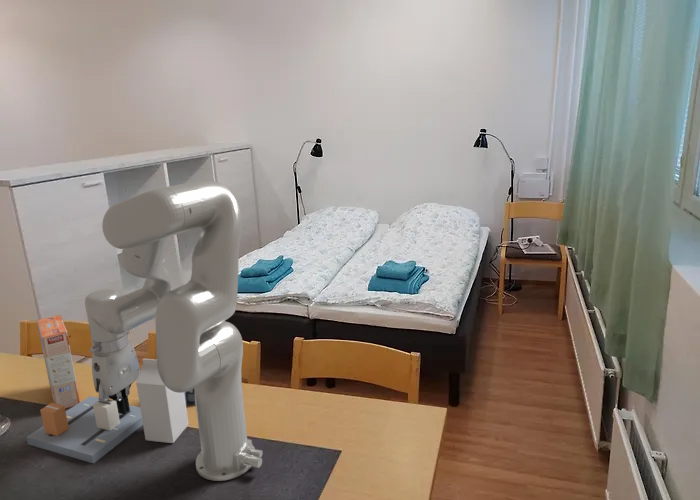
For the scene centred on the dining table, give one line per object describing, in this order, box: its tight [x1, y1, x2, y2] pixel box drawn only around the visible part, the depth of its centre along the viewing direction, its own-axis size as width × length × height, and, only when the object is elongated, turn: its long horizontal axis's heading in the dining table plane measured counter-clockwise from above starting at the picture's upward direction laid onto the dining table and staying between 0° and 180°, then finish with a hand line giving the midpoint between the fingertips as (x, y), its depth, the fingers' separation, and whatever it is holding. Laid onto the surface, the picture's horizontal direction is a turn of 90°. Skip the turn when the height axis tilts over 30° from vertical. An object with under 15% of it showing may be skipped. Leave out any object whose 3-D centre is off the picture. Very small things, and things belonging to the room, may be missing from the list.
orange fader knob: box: [39, 402, 69, 436], centre depth 119 cm, size 4×3×6 cm
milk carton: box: [135, 358, 189, 444], centre depth 119 cm, size 7×7×19 cm
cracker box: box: [36, 314, 81, 410], centre depth 135 cm, size 14×6×21 cm, turn 34°
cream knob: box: [93, 399, 120, 431], centre depth 120 cm, size 4×3×6 cm
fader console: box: [25, 395, 143, 464], centre depth 123 cm, size 20×18×2 cm
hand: (122, 411), depth 125 cm, fingers closed
